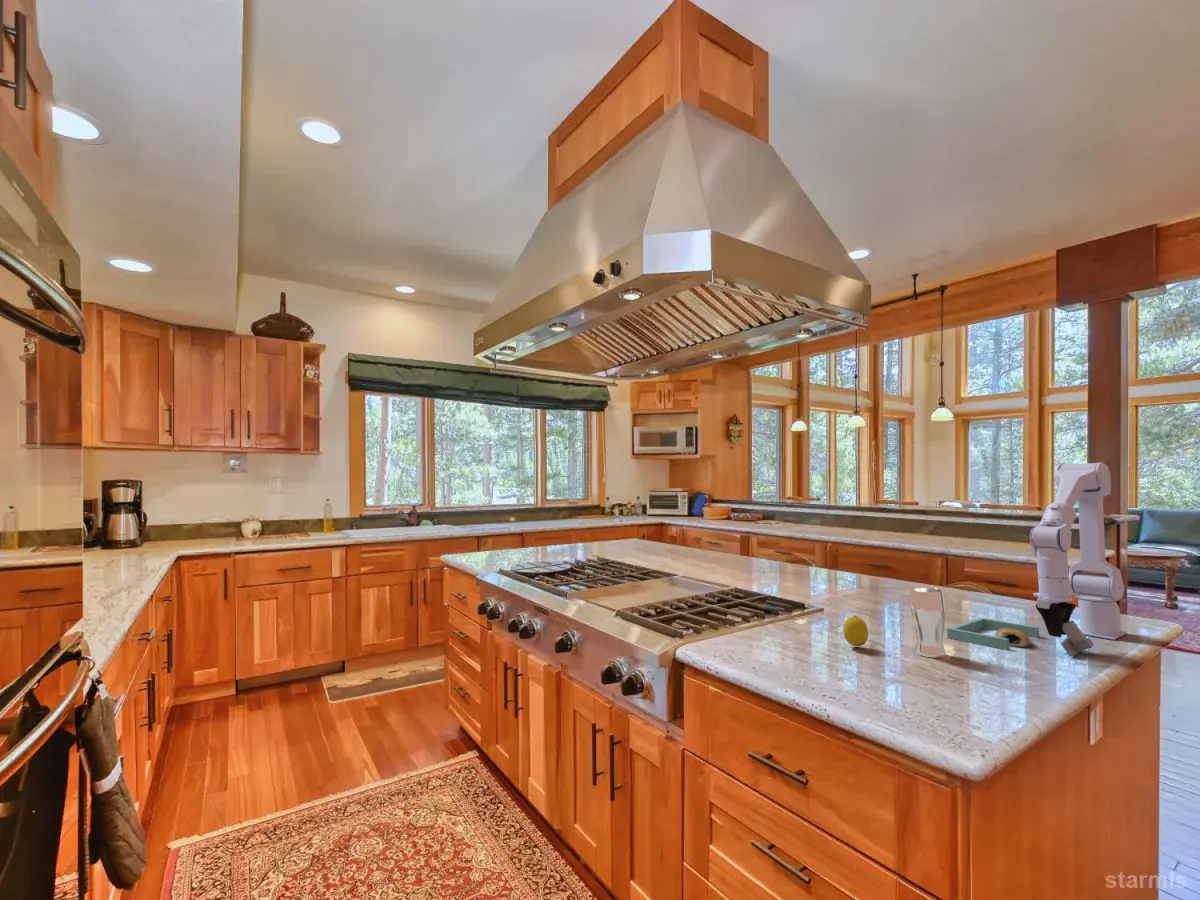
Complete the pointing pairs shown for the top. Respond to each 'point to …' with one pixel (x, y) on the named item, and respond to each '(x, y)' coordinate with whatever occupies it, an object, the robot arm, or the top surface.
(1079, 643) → the pusher
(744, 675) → the top surface
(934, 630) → the beer glass
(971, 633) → the bay
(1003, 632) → the pastry
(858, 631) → the lemon
